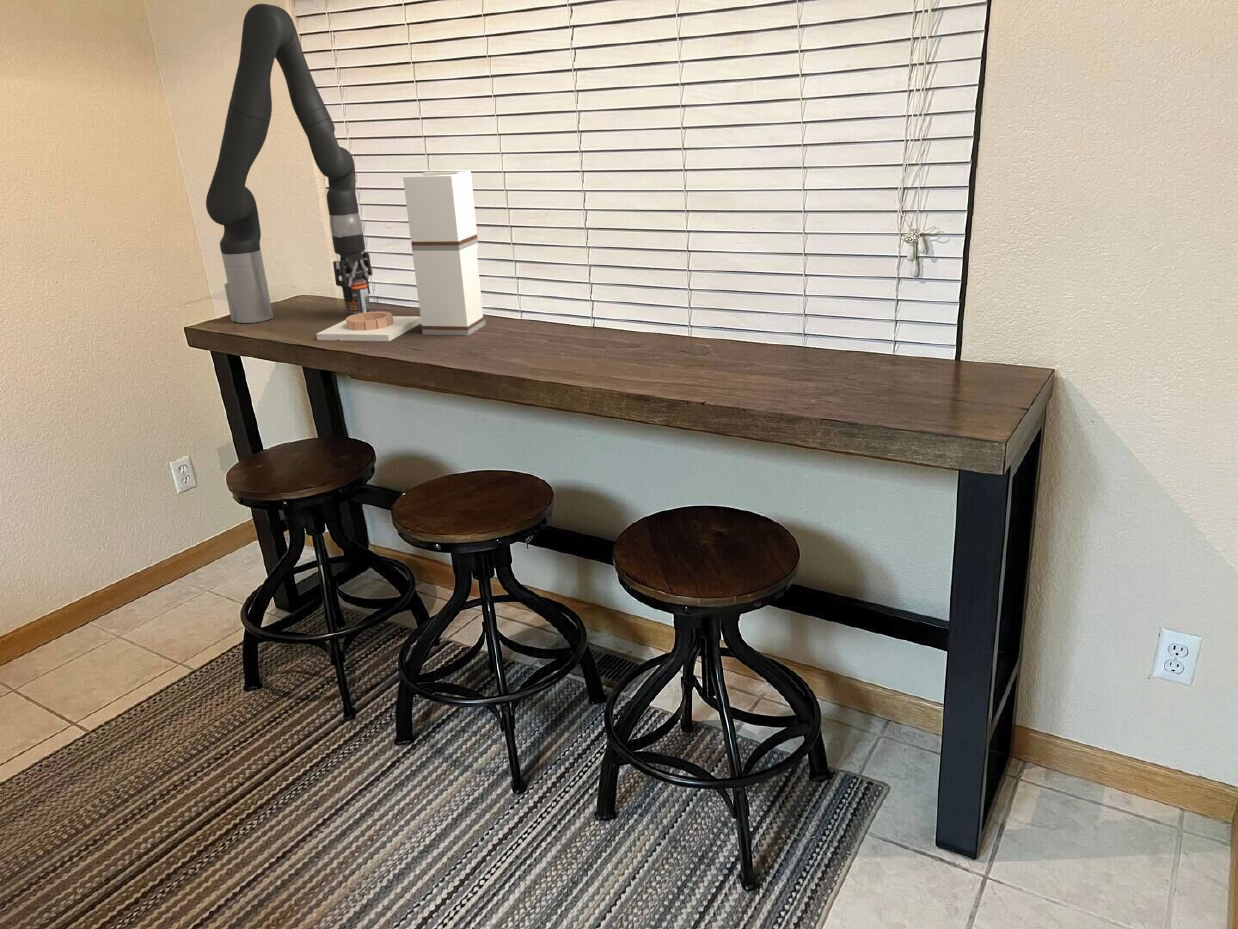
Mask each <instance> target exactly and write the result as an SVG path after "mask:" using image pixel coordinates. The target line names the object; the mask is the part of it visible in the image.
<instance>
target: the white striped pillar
mask: <svg viewBox="0 0 1238 929" xmlns="http://www.w3.org/2000/svg"><path fill="white" fill-rule="evenodd" d="M402 180H403V186H404V187H403V188H404V194H405V196H404V197H405V204H406V205H405V206H406V212H407V213H406V214H407V219H408V228H409V234H410V243H411V251H412V259H413V267H414V268H413V269H414V275H415V276H414V277H415V282H416V290H417V299H418V307H419V314H420V316H419V317H421V324H420V325H421V330H422V335H431V336H433V335H434V336H435V335H436V336H439V335H440V336H469V335H472V334H473V333H475V332H476V331H478V330H479V329H481V328H482V327H485V326H486V316H485V315H484V311H483V303H482V302H483V301H482V292H481V280H480V272H479V262H478V250H479V240H478V230H477V220H476V212H475V211H476V210H475V200H474V190H473V181H472V172H471V170H470V171H469V170H468V171H467V170H466V171H442V172H441V171H435V172H434V171H430V172H427V171H426V172H422V175H417V176H415V175H411V176H405V175H404V176H402Z"/></svg>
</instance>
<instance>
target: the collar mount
mask: <svg viewBox="0 0 1238 929" xmlns="http://www.w3.org/2000/svg"><path fill="white" fill-rule="evenodd" d="M419 325H422V324H421V316H415V315H414V316H412V315H411V316H407V315H405V316H403V315H402V316H401V315H399V316H398V315H397V316H396V315H393V313H391V312H390V311H389V312H388V311H371V312H364V313H359V314H354V315H351V316H349V317H348V316H347V317H345V320H342V321H341V322H338V323H336V324H334V325H332V326H329V327H328V328H326V329H323V330H322V331H320V332H317V333H316V339H317V341H337V340H339V341H342V342H343V341H344V342H345V341H346V342H347V341H348V342H352V341H353V342H391V341H392V340H394V339H396V338H398V337H399V336H402V335H403V334H405V333H406V332H408V331H410V330H412V329H414V328H416V327H417V326H419ZM339 341H338V342H339Z"/></svg>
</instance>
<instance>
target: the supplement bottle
mask: <svg viewBox="0 0 1238 929" xmlns="http://www.w3.org/2000/svg"><path fill="white" fill-rule="evenodd" d="M347 281H348V279H347ZM351 287H352V291H353V297H354V301H353V302H345V301H344V303H345V310H346V315H347V317H349V316H351V315H354V314H359V313H364V312H372V310H371V303H370V294H368V287H367V282H366V280H364V279H363V278H362V273H361V271H358V272H356V273H355V277H354V279H352V284H351Z"/></svg>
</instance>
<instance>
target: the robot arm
mask: <svg viewBox="0 0 1238 929" xmlns="http://www.w3.org/2000/svg"><path fill="white" fill-rule="evenodd" d="M241 32H242V33H241V42H240V43H241V44H240V52H239V60H238V66H237V70H236V73H235V79H234V83H233V88H232V91H231V95H230V96H231V97H230V101H229V104H228V109H227V113H226V118H225V124H224V129H223V134H222V139H221V144H220V149H219V153H218V154H219V155H218V159H217V164H216V167H215V171H214V172H213V173H214V174H213V176H212V179H211V183H210V185H209V187H208V191H207V194H206V199H205V208H206V211H207V214H208V215H209V216H208V217H210V219H211V220H212V221H213V222H215V223H216V224H218V225H220V226H223V230H224V231H223V235H222V237H221V239H220V240H219V241H220V242H219V248H220V252H221V257H222V261H223V267H224V272H225V277H226V283H225V284H224V290H225V296H226V300H227V304H228V310H229V315H230V320H231V322H236V323H239V324H240V323H241V324H253V323H259V322H265V321H268V320H271V319H273V318H274V314H273V307H272V302H271V298H270V293H269V287H268V281H267V277H266V271H265V266H264V260H263V255H262V249H261V244H260V243H261V236H262V231H261V225H260V218H259V217H260V216H259V211H258V206H257V202H256V199H255V196H254V194H253V192H252V191H251V190H250V189H249V188H248V187H247V186H246V183H247V178H248V175H249V173H250V172H249V171H250V170H251V168H252V166H253V164H254V162H255V160H256V159H257V157H258V155H259V154H260V152H261V150H262V149H263V147H264V144H265V141H266V139H267V136H268V131H269V127H270V123H271V119H272V111H273V100H272V99H273V98H272V88H271V87H272V86H271V85H272V84H271V78H272V70H273V66H274V63H275V59H276V61H277V63H278V65H279V67H280V69H281V71H282V73H283V77H284V79H285V82H286V86H287V90H288V94H289V98H290V103H291V105H292V108H293V111H294V113H295V115H296V118H297V119H298V122H299V123H300V126H301V128H302V129H303V132H304V134H305V136H306V137H307V140H308V144H309V148H310V150H311V153H312V156H313V159H314V163H315V164H316V167H317V168H318V170H319V172H320V173H321V174H322V175H323V176H324V177H325V178H327V181H328V190H327V193H326V204H327V209H328V216H329V228H330V233H331V234H330V235H331V238H332V239H331V240H332V246H333V251H334V253H335V254H337V255H339V260H334V261H333V262H332V265H333V273H334V281H335V285H336V287H340V288H342V293H343V299H344V303H345V302H353V301H354V297H353V291H352V287H351V284H352V279H354V277H355V273H356V272H358V271H361V273H362V278H363V279H364V280H366V282H367V287H368V295H370V294H371V290H370V283H369V279H370V276H372V275H373V271H372V270H373V269H372V265H371V260H370V254H369V252H368V251H366V242H365V236H364V231H363V229H364V228H363V225H362V220H361V216H360V213H359V211H360V210H359V206H358V199H357V198H358V197H357V195H356V185H357V184H356V183H357V182H356V167H355V161H354V157H353V156H352V154H351V152H350V151H348V149H347V148H344V147H343V146H340V145H339V142H338V140H337V138H336V135H335V131H336V128H335V123H334V122H333V120H332V117H331V115H330V113H329V111H328V109H327V107H326V105H325V103H324V100H323V98H322V97H321V94H320V91H319V90H318V88H317V86H316V83H315V81H314V78H313V76H312V73H311V71H310V67H309V66H308V63H307V60H306V57H305V54H304V51H303V48H302V45H301V42H300V38H299V35H298V32H297V29H296V25H295V23H294V20H293V18H292V16H291V15H290V14H289V12H288V11H287V10H285V9H284V8H282V7H281V6H278V5H273V4H269V3H268V4H267V3H256V4H254V5H252V6H251V7H250V8H249V9H248V10H247V11H246V12H245V14H244V18H243V23H242V30H241ZM347 279H348V281H347Z"/></svg>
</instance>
